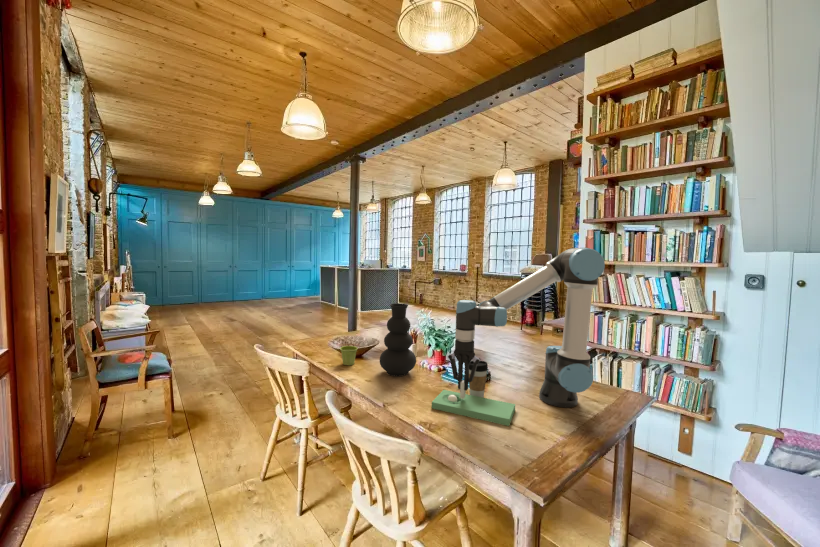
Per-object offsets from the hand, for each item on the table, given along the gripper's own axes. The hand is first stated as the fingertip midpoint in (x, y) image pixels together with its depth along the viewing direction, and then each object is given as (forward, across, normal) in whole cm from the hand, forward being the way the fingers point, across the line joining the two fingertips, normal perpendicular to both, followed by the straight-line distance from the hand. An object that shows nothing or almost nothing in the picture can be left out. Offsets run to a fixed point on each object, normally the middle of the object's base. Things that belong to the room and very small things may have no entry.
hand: (462, 397), depth 139 cm
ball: (+2, +4, 0) cm, 5 cm away
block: (+4, -4, 0) cm, 6 cm away
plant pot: (+4, +70, -21) cm, 73 cm away
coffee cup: (+4, -3, -13) cm, 14 cm away
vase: (+4, +40, -21) cm, 46 cm away
